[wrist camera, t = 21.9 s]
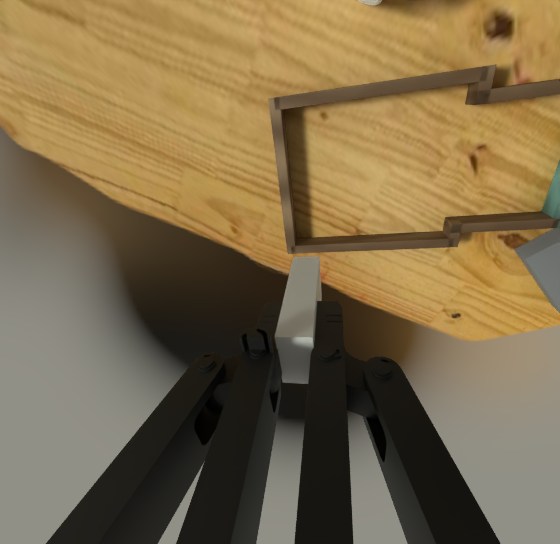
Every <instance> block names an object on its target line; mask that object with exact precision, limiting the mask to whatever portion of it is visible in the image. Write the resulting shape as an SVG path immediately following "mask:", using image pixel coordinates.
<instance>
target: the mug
mask: <svg viewBox="0 0 560 544" xmlns="http://www.w3.org/2000/svg"><path fill="white" fill-rule="evenodd" d="M357 1H359V2H361V3H364V4H367V5H372V6H375V5H378V4H380V3H381V2H382V0H357Z"/></svg>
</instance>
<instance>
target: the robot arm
mask: <svg viewBox="0 0 560 544" xmlns="http://www.w3.org/2000/svg"><path fill="white" fill-rule="evenodd" d="M239 341H240V344H241V348H242V353H241V354H239V355H237V356H233V357H230V358H225V359H223V358H222V356H221V355H220V354H217V353H211V352H210V353H206V354H203V355H201V356H200V357H198V358H197V359H196V360H195V361H194V362H193V363H192V365H191V366H190V367H189V368H188V369H187V371H186V372H185V373H184V374H183V375H182V377H181V378H180V379H179V381H178V382H177V383H176V384H175V385H174V387H173V388H172V389H171V390H170V391H169V393H168V394H167V395H166V396H165V398H164V399H163V400H162V401H161V403H160V404H159V405H158V406H157V407H156V409H155V410H154V411H153V412H152V414H151V415H150V416H149V417H148V419H147V420H146V421H145V422H144V424H143V425H142V426H141V427H140V428H139V430H138V431H137V432H136V433H135V435H134V436H133V437H132V438H131V440H130V441H129V442H128V443H127V444H126V446H125V447H124V448H123V449H122V451H121V452H120V453H119V454H118V455H117V457H116V458H115V459H114V460H113V462H112V463H111V464H110V465H109V467H108V468H107V469H106V470H105V472H104V473H103V474H102V475H101V476H100V478H99V479H98V480H97V481H96V483H95V484H94V485H93V486H92V487H91V489H90V490H89V491H88V492H87V494H86V495H85V496H84V498H83V499H82V500H81V501H80V502H79V504H78V505H77V506H76V507H75V509H74V510H73V511H72V512H71V513H70V515H69V516H68V517H67V518H66V520H65V521H64V522H63V523H62V524H61V526H60V527H59V528H58V529H57V531H56V532H55V533H54V534H53V536H52V537H51V538H50V539H49V540H48V542H47V543H46V544H158V542H159V540H160V538H161V537H162V535H163V533H164V531H165V530H166V528H167V526H168V524H169V522H170V521H171V519H172V517H173V516H174V514H175V512H176V510H177V508H178V507H179V505H180V503H181V502H182V500H183V498H184V496H185V495H186V493H187V491H188V489H189V487H190V486H191V484H192V482H193V481H194V479H195V477H196V475H197V473H198V472H199V470H200V468H201V466H202V465H203V463H204V465H203V468H202V471H201V474H200V476H199V480H198V482H197V485H196V488H195V491H194V494H193V497H192V499H191V502H190V505H189V508H188V511H187V514H186V517H185V520H184V523H183V526H182V528H181V531H180V534H179V537H178V540H177V543H176V544H256V540H257V535H258V529H259V523H260V517H261V511H262V505H263V499H264V492H265V487H266V481H267V475H268V469H269V463H270V457H271V451H272V445H273V439H274V433H275V427H276V421H277V415H278V409H279V403H280V397H281V387H280V381H281V376H282V381H283V382H284V383H304V384H308V392H307V404H306V415H305V427H304V440H303V450H302V462H301V474H300V485H299V497H298V509H297V521H296V532H295V544H353V528H352V527H353V526H352V506H351V482H350V461H349V441H348V440H349V439H348V417H347V410H349V411H351V412H354V413H357V414H359V415H362V416H363V419H364V422H365V425H366V427H367V430H368V433H369V435H370V439H371V441H372V444H373V447H374V450H375V452H376V456H377V458H378V461H379V464H380V467H381V470H382V472H383V475H384V478H385V481H386V483H387V487H388V489H389V492H390V495H391V498H392V501H393V503H394V506H395V509H396V512H397V515H398V518H399V520H400V523H401V526H402V529H403V532H404V534H405V537H406V540H407V543H408V544H500V542H499V540H498V538H497V537H496V535H495V533H494V531H493V530H492V528H491V526H490V524H489V522H488V521H487V519H486V517H485V515H484V514H483V512H482V510H481V508H480V507H479V505H478V503H477V501H476V500H475V498H474V496H473V494H472V492H471V491H470V489H469V487H468V486H467V484H466V482H465V480H464V478H463V477H462V475H461V474H460V471H459V470H458V468H457V466H456V464H455V463H454V461H453V459H452V457H451V456H450V454H449V452H448V450H447V448H446V447H445V445H444V443H443V441H442V440H441V438H440V436H439V434H438V433H437V431H436V429H435V427H434V426H433V424H432V422H431V420H430V418H429V417H428V415H427V413H426V411H425V410H424V408H423V406H422V404H421V403H420V401H419V399H418V397H417V396H416V394H415V392H414V390H413V389H412V387H411V385H410V383H409V381H408V380H407V378H406V376H405V374H404V373H403V371H402V369H401V368H400V366H399V365H398V364H397V363H396V362H395V361H393V360H391V359H389V358H386V357H374V358H371V359H369V360H368V361H367V362H365V361H362V360H358V359H356V358H354V357H352V356H351V355H349V353H348V352H347V351H346V350H345V347H344V339H343V317H342V307H341V305H340V304H339V303H338V301H321V279H320V262H319V256H318V257H293V261H292V266H291V270H290V274H289V278H288V283H287V287H286V291H285V295H284V299H283V302H268V303H267V304H266V305H265V306H264V307H263V308H262V311H261V314H260V317H259V320H258V323H257V326H256V327H251V328H249V329H246V330H245V331H243V332H242V333H241V334H240V336H239ZM204 461H205V462H204Z"/></svg>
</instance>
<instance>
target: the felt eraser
mask: <svg viewBox="0 0 560 544" xmlns="http://www.w3.org/2000/svg"><path fill="white" fill-rule="evenodd" d="M514 250H515V251H516V253H517V254H518V256H519V257H520V259H521V260H522V262H523V263H524V265H525V266H526V268H527V269H528V271H529V272H530V274H531V275H532V277H533V278H534V280H535V281H536V282H537V284H538V285H539V287H540V288H541V290H542V291H543V293H544V294H545V296H546V297H547V299H548V300H549V302H550V303H551V305H552V306H553V307H554V308H555V309H556V310H557V311H558V312H560V229H559V228H554V229H552V230H550V231H548V232H546V233H544V234H542V235H540V236H539V237H537V238H535V239H533V240H531V241H529V242H527V243H525V244H524V245H522V246H520V247H518V248H516V249H514Z"/></svg>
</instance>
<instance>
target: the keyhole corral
mask: <svg viewBox="0 0 560 544" xmlns="http://www.w3.org/2000/svg"><path fill="white" fill-rule="evenodd" d="M495 68H496V65H490V66H484V67H477V68H470V69H464V70H457V71H450V72H444V73H437V74H430V75H423V76H417V77H410V78H403V79H397V80H390V81H383V82H377V83H370V84H363V85H357V86H350V87H343V88H336V89H330V90H323V91H316V92H310V93H303V94H296V95H290V96H283V97H276V98H270V99H269V107H270V115H271V123H272V131H273V139H274V147H275V155H276V163H277V171H278V180H279V188H280V196H281V204H282V212H283V220H284V228H285V236H286V244H287V252H288V254H294V253H319V252H344V251H369V250H394V249H419V248H444V247H458V243H459V238H460V233H465V232H486V231H506V230H527V229H547V228H560V161H559V163H558V166H557V169H556V172H555V175H554V178H553V180H552V183H551V186H550V189H549V192H548V195H547V197H546V200H545V203H544V206H543V209H542V212H525V213H509V214H492V215H475V216H458V217H445V222H444V227H443V231H437V232H417V233H397V234H377V235H357V236H337V237H318V238H298V239H297V234H296V225H295V215H294V205H293V196H292V186H291V176H290V166H289V157H288V147H287V137H286V127H285V118H284V109H288V108H295V107H302V106H309V105H316V104H323V103H330V102H337V101H345V100H352V99H359V98H366V97H373V96H380V95H387V94H394V93H401V92H409V91H416V90H423V89H430V88H437V87H444V86H451V85H458V84H465V83H469V86H468V92H467V98H466V103H465V104H469V105H478V104H486V103H494V102H502V101H509V100H517V99H525V98H533V97H541V96H549V95H557V94H560V79H555V80H548V81H541V82H533V83H526V84H518V85H511V86H504V87H496V88H491V87H492V83H493V78H494V73H495Z"/></svg>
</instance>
